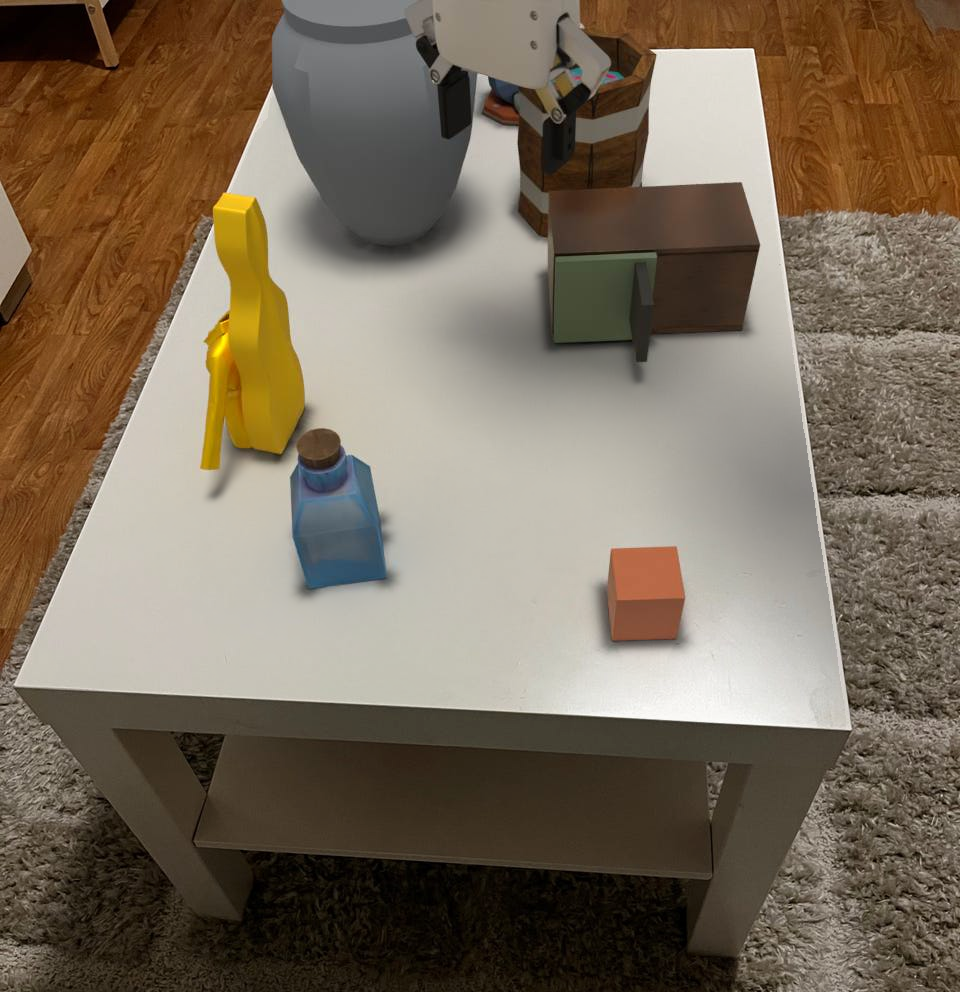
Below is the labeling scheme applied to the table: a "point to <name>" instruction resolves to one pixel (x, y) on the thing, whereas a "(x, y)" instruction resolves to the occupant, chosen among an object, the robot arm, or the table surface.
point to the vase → (366, 115)
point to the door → (605, 299)
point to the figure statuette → (250, 342)
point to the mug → (591, 130)
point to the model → (502, 102)
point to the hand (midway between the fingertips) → (506, 148)
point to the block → (645, 593)
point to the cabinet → (667, 246)
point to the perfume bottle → (334, 514)
